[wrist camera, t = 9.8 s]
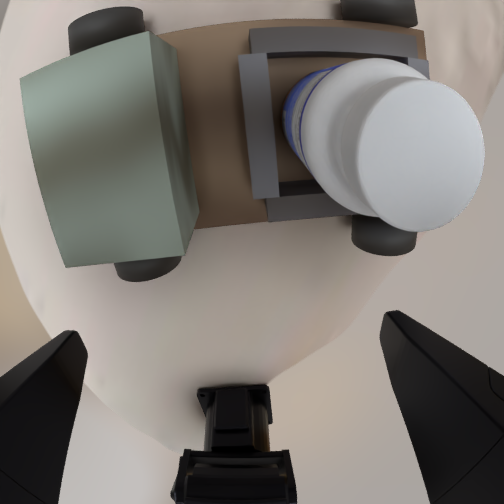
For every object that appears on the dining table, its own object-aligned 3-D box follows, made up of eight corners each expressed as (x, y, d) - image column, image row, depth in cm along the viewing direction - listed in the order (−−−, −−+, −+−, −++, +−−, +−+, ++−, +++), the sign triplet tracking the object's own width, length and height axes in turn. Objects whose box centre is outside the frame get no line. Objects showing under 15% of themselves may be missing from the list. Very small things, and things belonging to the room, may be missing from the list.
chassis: (411, 222, 20) (462, 272, 14) (115, 252, 20) (76, 312, 14) (408, 11, 13) (471, -10, 7) (74, 42, 13) (8, 31, 8)
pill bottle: (391, 97, 14) (524, 122, 6) (354, 183, 17) (451, 277, 8) (300, 53, 13) (378, 5, 5) (263, 147, 16) (291, 217, 7)
